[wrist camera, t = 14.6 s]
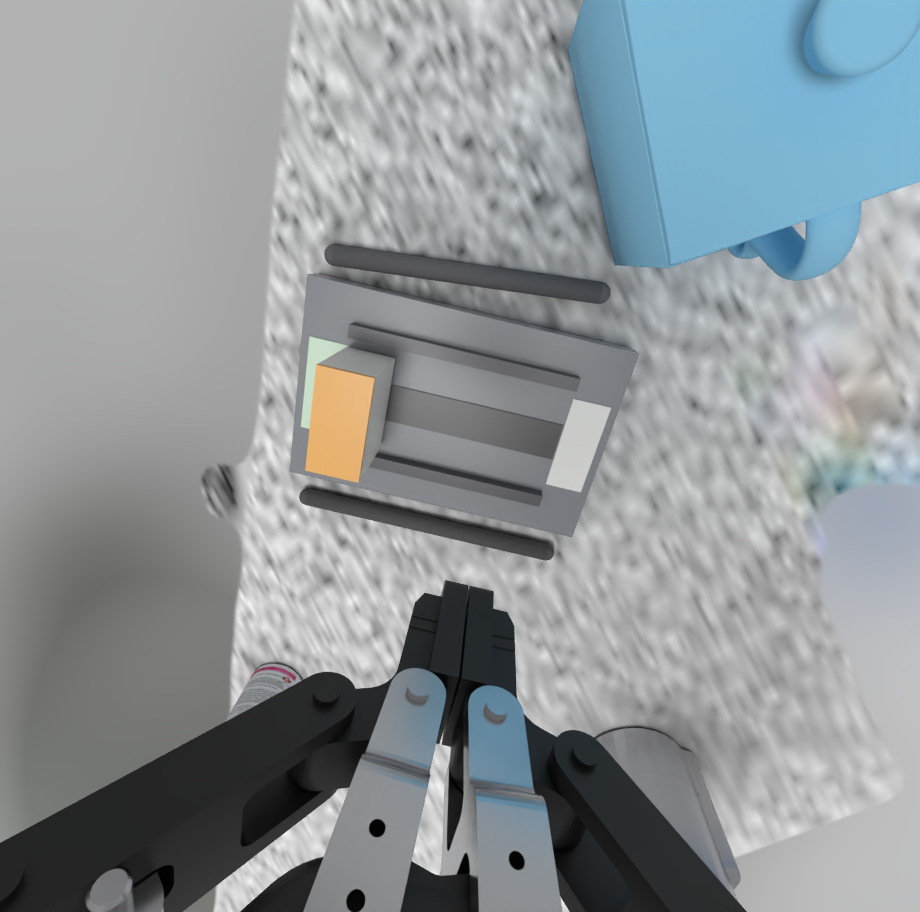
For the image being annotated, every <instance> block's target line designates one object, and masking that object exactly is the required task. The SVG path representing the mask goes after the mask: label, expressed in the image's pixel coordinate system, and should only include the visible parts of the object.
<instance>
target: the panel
mask: <svg viewBox="0 0 920 912" xmlns="http://www.w3.org/2000/svg"><path fill="white" fill-rule="evenodd" d="M346 347H350V348H354V349H359V350H363V351H367V352H371V353H375V354H380V355H384V356H388V357H392V358H395V364H394V370H393V376H392V382H391V388H390V394H389V400H388V406H387V412H386V417H385V423H384V429H383V435H382V441H381V447H380V449H379V451H378V453H377V454H376V456H375V457H374V459H373V461H372V462H371V464H370V465H369V467H368V469H367V470H366V472H365V473H364V475H363V476H362V478H361V480H360V481H359V483H357V482H352V481H348V480H344V479H339V478H335V477H331V476H326V475H322V474H318V473H314V472H309V471H305V467H306V458H307V448H308V439H309V429H310V419H311V410H312V400H313V390H314V381H315V371H316V364H318V363H320V362H322V361H323V360H325V359H327V358H329V357H330V356H332V355H334V354H335V353H337V352H339V351H341V350H342V349H344V348H346ZM638 356H639V353H637V352H636V351H634V350H633V349H631V348H629V347H625V346H620V345H616V344H612V343H608V342H604V341H599V340H595V339H591V338H587V337H583V336H579V335H574V334H570V333H566V332H562V331H558V330H553V329H549V328H545V327H541V326H537V325H532V324H528V323H524V322H520V321H516V320H512V319H507V318H503V317H499V316H495V315H491V314H486V313H482V312H478V311H474V310H470V309H466V308H461V307H457V306H453V305H449V304H445V303H440V302H436V301H432V300H428V299H424V298H420V297H415V296H411V295H407V294H403V293H399V292H394V291H390V290H386V289H382V288H378V287H373V286H369V285H365V284H361V283H357V282H353V281H348V280H344V279H340V278H336V277H332V276H327V275H323V274H308V275H307V286H306V297H305V308H304V319H303V330H302V341H301V352H300V363H299V375H298V386H297V397H296V408H295V419H294V430H293V441H292V452H291V463H290V472H294V473H298V474H303V475H307V476H311V477H316V478H320V479H324V480H328V481H333V482H337V483H341V484H346V485H350V486H354V487H359V488H363V489H367V490H371V491H376V492H380V493H384V494H389V495H393V496H397V497H401V498H406V499H410V500H414V501H419V502H423V503H427V504H432V505H436V506H440V507H444V508H449V509H453V510H457V511H462V512H466V513H470V514H475V515H479V516H483V517H487V518H492V519H496V520H500V521H505V522H509V523H513V524H518V525H522V526H526V527H530V528H535V529H539V530H543V531H548V532H552V533H556V534H560V535H565V536H569V537H572V535H573V533H574V530H575V527H576V524H577V522H578V519H579V516H580V513H581V511H582V508H583V505H584V503H585V500H586V497H587V494H588V492H589V489H590V486H591V484H592V481H593V478H594V475H595V473H596V470H597V467H598V464H599V462H600V459H601V456H602V454H603V451H604V448H605V445H606V443H607V440H608V437H609V435H610V432H611V429H612V426H613V424H614V421H615V418H616V415H617V413H618V410H619V407H620V405H621V402H622V399H623V396H624V394H625V391H626V388H627V385H628V383H629V380H630V377H631V375H632V372H633V369H634V366H635V364H636V361H637V358H638Z"/></svg>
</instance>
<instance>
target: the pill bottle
mask: <svg viewBox="0 0 920 912" xmlns="http://www.w3.org/2000/svg"><path fill="white" fill-rule="evenodd" d="M300 681H302V680H301V678H300V677H299V675H298V674H297V673H296V672H295V671H293V670H292V669H290V668H289V667H287V666H284V665H280V664H267V665H263V666H261V667H259V668H258V669H257V670H256V671H255V672H254V673H253V675H252V676H251V678H250V680H249V682H248V683H247V685H246V687H245V689H244V690H243V692H242V694H241V696H240V697H239V699H238V701H237V702H236V704H235V706H234V707H233V709H232V711H231V712H230V714H229V716H228V717H227V719H226V721H228V720H230V719H232V718H233V717H235V716H237V715H239V714H241V713H243V712H245V711H246V710H248V709H250V708H252V707H254V706H256V705H258V704H259V703H261V702H263V701H265V700H267V699H269V698H271V697H272V696H274V695H276V694H278V693H280V692H282V691H284V690H285V689H287V688H289V687H291V686H293V685H295V684H297V683H298V682H300ZM226 721H225V722H226Z"/></svg>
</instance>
